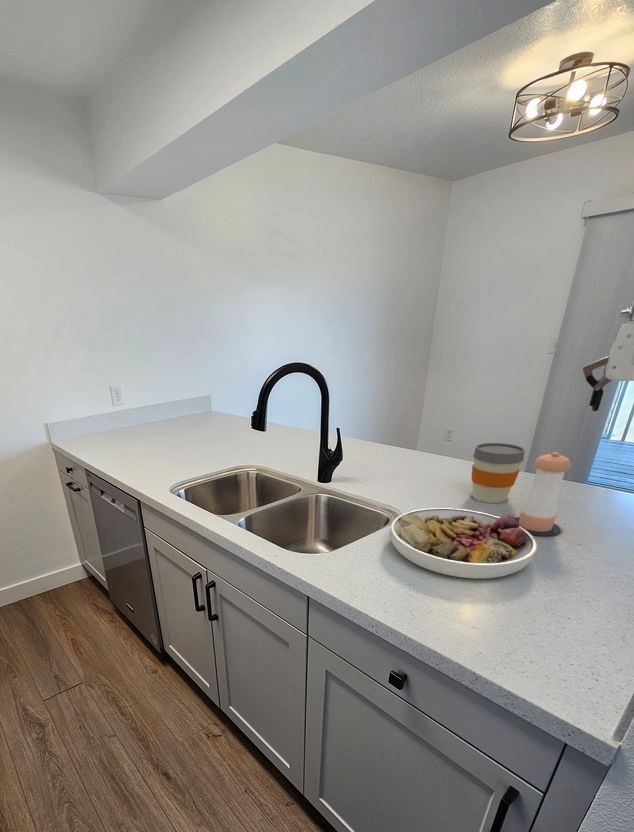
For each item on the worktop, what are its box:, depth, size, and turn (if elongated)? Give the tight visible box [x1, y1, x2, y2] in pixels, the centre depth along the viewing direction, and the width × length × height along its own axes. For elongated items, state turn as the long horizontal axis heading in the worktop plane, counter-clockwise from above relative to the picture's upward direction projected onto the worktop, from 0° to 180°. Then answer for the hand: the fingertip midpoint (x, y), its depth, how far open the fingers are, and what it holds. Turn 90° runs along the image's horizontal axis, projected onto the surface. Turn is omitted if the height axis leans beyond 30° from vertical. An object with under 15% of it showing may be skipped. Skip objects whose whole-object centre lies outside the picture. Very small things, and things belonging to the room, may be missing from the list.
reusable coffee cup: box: [471, 442, 526, 504], centre depth 127 cm, size 13×13×15 cm
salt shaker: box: [519, 451, 572, 532], centre depth 107 cm, size 7×7×19 cm
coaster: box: [516, 516, 561, 537], centre depth 111 cm, size 11×11×1 cm
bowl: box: [389, 507, 538, 579], centre depth 101 cm, size 30×30×8 cm
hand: (625, 410), depth 86 cm, fingers open, 9 cm apart
